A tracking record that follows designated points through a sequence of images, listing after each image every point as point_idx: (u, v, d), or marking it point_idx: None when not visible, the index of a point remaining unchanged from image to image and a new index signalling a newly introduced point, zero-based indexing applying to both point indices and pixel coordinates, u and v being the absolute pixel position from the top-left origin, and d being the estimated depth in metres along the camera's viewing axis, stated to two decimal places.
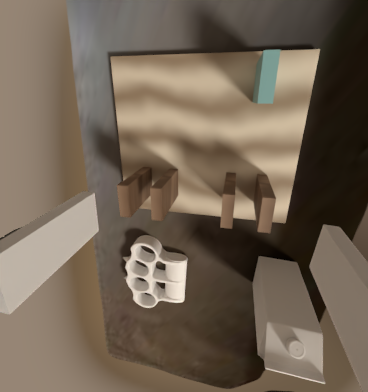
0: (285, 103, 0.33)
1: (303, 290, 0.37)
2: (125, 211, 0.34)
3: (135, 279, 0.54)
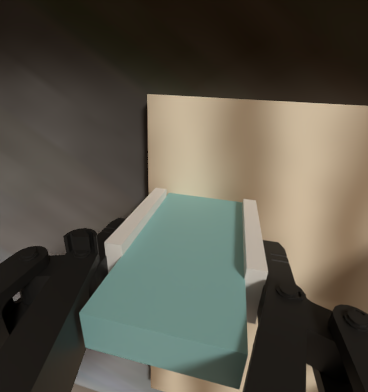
0: (251, 157, 0.14)
1: None
2: None
3: None
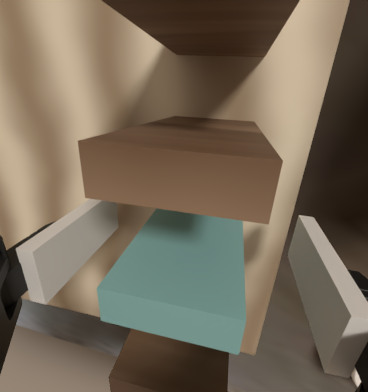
0: (10, 2, 0.14)
1: None
2: None
3: None
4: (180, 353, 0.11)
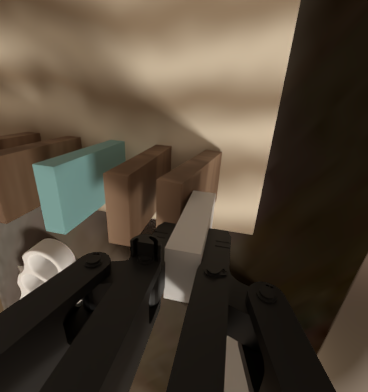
0: (254, 8, 0.17)
1: None
2: None
3: None
4: (19, 188, 0.18)
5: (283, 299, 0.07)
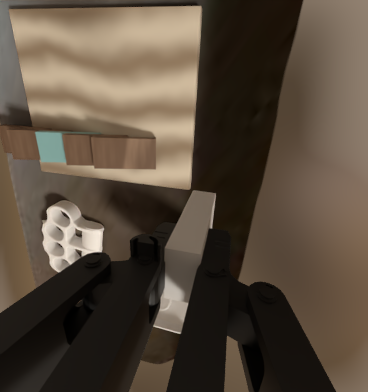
0: (175, 63, 0.33)
1: None
2: None
3: (55, 244, 0.54)
4: (21, 146, 0.39)
5: (283, 299, 0.07)
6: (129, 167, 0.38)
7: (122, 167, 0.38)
